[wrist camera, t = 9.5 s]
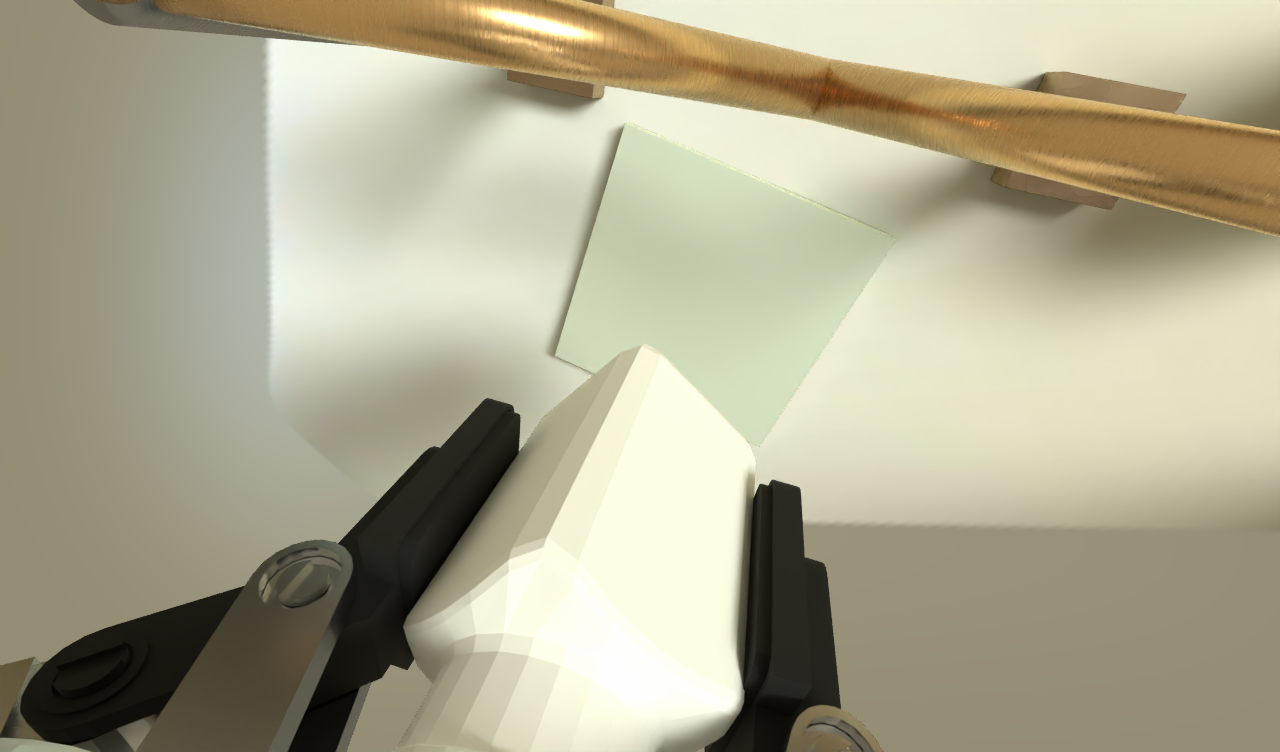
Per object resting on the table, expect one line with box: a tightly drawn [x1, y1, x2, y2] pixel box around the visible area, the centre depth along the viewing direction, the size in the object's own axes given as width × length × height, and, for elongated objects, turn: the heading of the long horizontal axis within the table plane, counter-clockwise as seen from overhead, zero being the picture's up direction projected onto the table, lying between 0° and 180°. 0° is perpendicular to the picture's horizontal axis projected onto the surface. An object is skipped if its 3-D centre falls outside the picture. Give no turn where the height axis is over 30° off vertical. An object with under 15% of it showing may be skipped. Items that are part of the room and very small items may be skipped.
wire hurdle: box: [74, 0, 1280, 237], centre depth 10 cm, size 19×3×14 cm, turn 80°
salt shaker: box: [391, 344, 756, 752], centre depth 8 cm, size 4×4×10 cm
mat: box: [555, 122, 895, 447], centre depth 20 cm, size 10×10×1 cm
